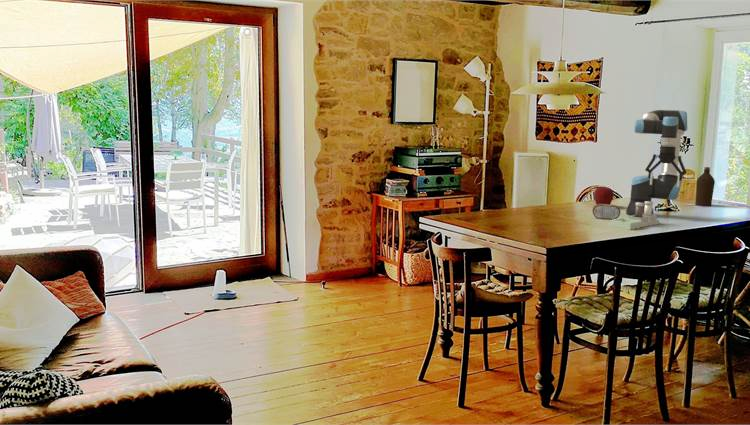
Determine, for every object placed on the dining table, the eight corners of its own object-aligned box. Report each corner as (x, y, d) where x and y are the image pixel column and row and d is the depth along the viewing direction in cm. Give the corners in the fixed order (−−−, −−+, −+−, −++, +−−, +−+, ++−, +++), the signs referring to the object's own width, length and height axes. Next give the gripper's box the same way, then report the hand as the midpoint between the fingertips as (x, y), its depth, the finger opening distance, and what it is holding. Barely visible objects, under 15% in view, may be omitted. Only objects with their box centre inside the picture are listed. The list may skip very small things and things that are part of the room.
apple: (604, 209, 423) (606, 187, 421) (589, 206, 432) (590, 185, 430) (616, 207, 430) (618, 186, 428) (600, 204, 439) (602, 184, 437)
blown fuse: (632, 220, 374) (634, 202, 372) (636, 220, 376) (638, 202, 374) (639, 222, 370) (641, 203, 369) (643, 221, 373) (645, 203, 371)
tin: (619, 219, 389) (620, 204, 387) (619, 220, 386) (621, 205, 384) (591, 217, 393) (593, 203, 391) (592, 218, 390) (593, 204, 388)
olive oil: (714, 207, 440) (718, 168, 436) (696, 206, 442) (700, 167, 437) (709, 204, 450) (713, 166, 446) (692, 203, 452) (696, 166, 448)
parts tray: (609, 226, 368) (610, 219, 367) (622, 223, 375) (622, 217, 374) (629, 229, 358) (630, 223, 358) (642, 227, 366) (643, 221, 365)
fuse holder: (625, 223, 375) (626, 215, 374) (642, 220, 385) (643, 212, 385) (642, 226, 367) (642, 218, 367) (659, 223, 378) (659, 215, 377)
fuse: (641, 219, 379) (643, 201, 377) (645, 218, 382) (647, 200, 380) (648, 220, 376) (650, 202, 374) (652, 219, 378) (654, 201, 377)
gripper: (642, 144, 365) (638, 184, 368) (692, 147, 353) (688, 188, 356) (644, 144, 372) (641, 183, 375) (694, 147, 359) (690, 187, 362)
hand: (664, 185), depth 365 cm, fingers open, 13 cm apart
